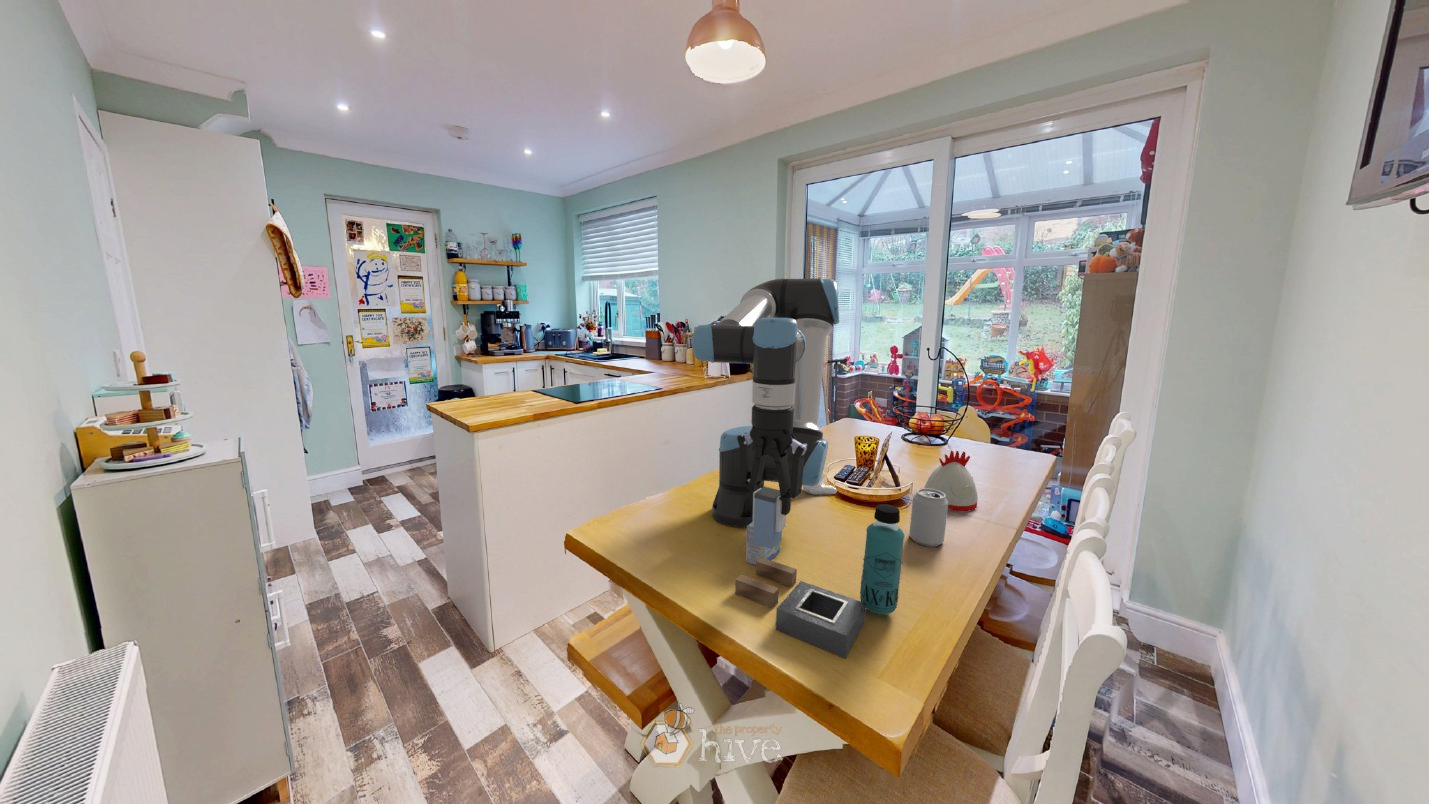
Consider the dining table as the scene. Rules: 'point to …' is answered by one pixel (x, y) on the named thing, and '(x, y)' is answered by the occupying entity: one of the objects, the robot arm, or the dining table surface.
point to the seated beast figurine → (820, 488)
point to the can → (928, 517)
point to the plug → (766, 518)
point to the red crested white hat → (954, 482)
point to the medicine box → (758, 548)
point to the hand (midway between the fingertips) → (768, 525)
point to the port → (821, 618)
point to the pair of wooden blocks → (761, 590)
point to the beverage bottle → (882, 561)
